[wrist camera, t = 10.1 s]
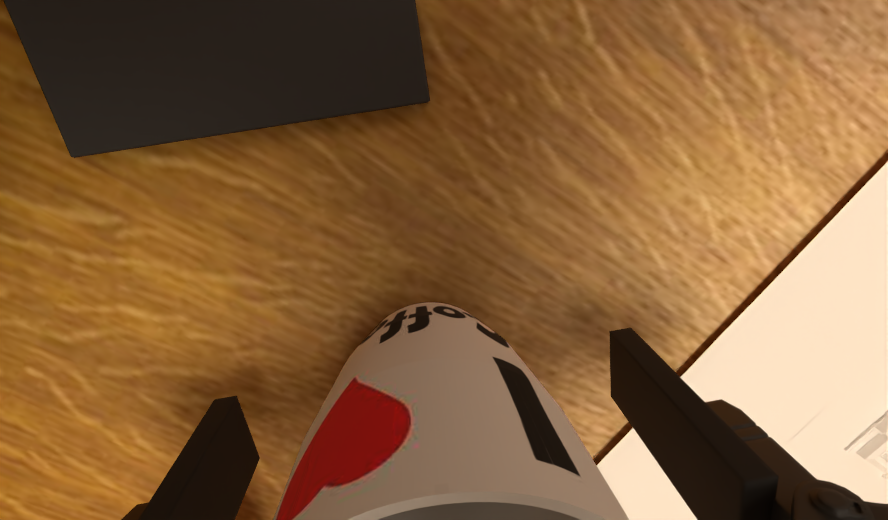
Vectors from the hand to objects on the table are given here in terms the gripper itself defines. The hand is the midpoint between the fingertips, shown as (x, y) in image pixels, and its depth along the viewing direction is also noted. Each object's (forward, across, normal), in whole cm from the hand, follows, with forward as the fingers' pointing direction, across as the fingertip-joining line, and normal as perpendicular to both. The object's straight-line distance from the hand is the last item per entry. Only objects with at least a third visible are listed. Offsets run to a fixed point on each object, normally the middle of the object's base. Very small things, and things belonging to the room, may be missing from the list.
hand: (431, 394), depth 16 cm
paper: (+2, +16, -8) cm, 18 cm away
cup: (+2, 0, 0) cm, 2 cm away
